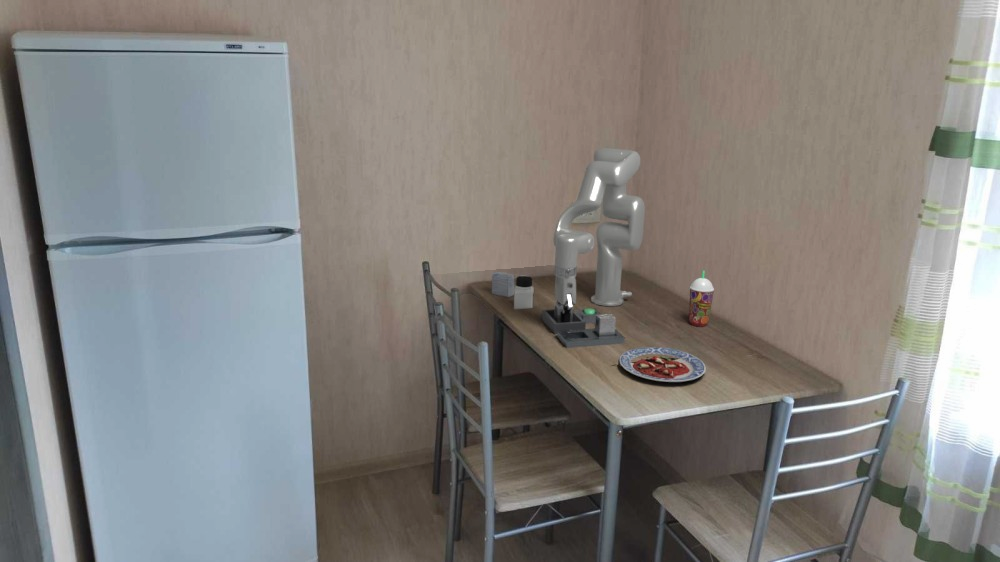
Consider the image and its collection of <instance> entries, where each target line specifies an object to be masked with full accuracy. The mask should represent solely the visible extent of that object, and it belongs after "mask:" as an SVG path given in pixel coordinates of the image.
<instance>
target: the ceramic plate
mask: <svg viewBox="0 0 1000 562" xmlns="http://www.w3.org/2000/svg"><path fill="white" fill-rule="evenodd" d="M644 355H664V356H661V357H658V356H647V357H645V358H641V359H638V360H636V361H633V359H635V358H637V357H640V356H644ZM665 355H666V356H665ZM667 356H670V357H667ZM673 357H675V358H673ZM662 358H663V359H662ZM619 364H620V365H621V367H622V368H623V369H624V370H625V371H626V372H629V373H630V374H632V375H635V376H637V377H640V378H642V379H646V380H651V381H656V382H664V383H665V382H666V383H667V382H668V383H682V382H688V381H693V380H696V379H698V378H700V377H702V376H703V375H704V374H705V373H706V371H707V370H706V369H707V368H706V365H705V363H704V362H703V360H701V359H700V358H698V357H697V356H696V355H695V356H694V355H693V354H690V353H687V352H685V351H683V350H678V349H672V348H667V347H657V346H648V347H638V348H633V349H629V350H627V351H625V352H623V353H622V354H621V355H620V357H619Z"/></svg>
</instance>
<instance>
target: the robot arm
mask: <svg viewBox="0 0 1000 562" xmlns="http://www.w3.org/2000/svg"><path fill="white" fill-rule="evenodd" d="M640 167H641V156H640V154H639V153H638V151H635V150H630V149H624V148H623V149H620V148H612V147H611V148H610V147H601V148H597V149H596V150H595V151H594V153H593V161H590V162H589V163H588V164H587V165H586V168H585V171H584V175H583V178H582V181H581V185H580V188H579V191H578V194H577V198H576V200H575V201H574V202H573V203H572V204H570V205H569V206H568V207H567V208H566V209H565V210H564V211H563V212H562V214H561V215H560V216H559V218H558V220H557V224H556V226H555V229H554V234H553V239H552V241H553V246H554V247H555V252H554V253H555V254H554V276H555V280H554V297H555V299H556V302H560V303H561V304H562V313H561V323H566V322H570V314H571V309H572V304H573V306H574V305H576V303H577V280H576V279H577V278H576V277H577V269H578V255H584V254H588V253H590V252H591V251H592V250H593V249H594V247H595V244H596V243H597V244H596V245H597V258H596V259H597V260H596V261H597V262H596V275H595V276H596V277H595V292H594V293H595V294H593V295H592V296H591V297H590V302H591V303H593V304H596V305H598V306H602V307H616V306H617V307H618V306H620V305H623V304H624V298H628V297H632V295H633V294H632V293H633V292H632V291H626V290H622V289H621V283H622V282H621V280H622V271H623V256H622V253H621V250H626V251H637V250H639V249H640V248H641V245H642V242H643V236H644V224H645V213H646V212H645V211H646V204H645V202H644V200H643V199H642V197H640V196H637V195H630V194H627V186H628V185H627V183H628V181H630V179H632V177H633V176H635V174H636V173H637V172H638V171H639V168H640ZM601 204H602V205H601ZM601 206H602V207H601ZM600 207H601V208H602V209H601V210H602V211H601V212H602V215H603V216H604V217H605V218H607V219H611V220H618V221H625V222H628V224H627V223H622V222H616V221H603V222H602V223H600V224H599V225H598V226H597V227H596V233H595V235H596V236H595V237H596V243H595V237H594V235H593V234H592V233H590V232H587V231H581V230H576V229H570V228H569V227H570V225H571V224H572V222H573V221H574V220H575V219H576V218H578V217H580V216H582V215H584V214H588V213H591V212H593V211H597V210H599V208H600ZM565 302H567V304H565ZM565 306H567V307H566V308H565Z"/></svg>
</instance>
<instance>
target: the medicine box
mask: <svg viewBox="0 0 1000 562" xmlns="http://www.w3.org/2000/svg"><path fill="white" fill-rule="evenodd" d="M491 275H492V276H491V277H492V278H491V294H492V295H496V296H499V297H505V298H511V297H512V296H514V288H515V274H514V273H508V272H503V271H496V272H494V273H492V274H491Z"/></svg>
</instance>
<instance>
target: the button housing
mask: <svg viewBox="0 0 1000 562" xmlns="http://www.w3.org/2000/svg"><path fill="white" fill-rule="evenodd" d="M590 308H591V307H590ZM585 309H586V308H579V309H576V313H577V314H578V315H579V316H580V317H581V318H582V319H583V320H584V321H585V322H586V325H587V324H588V325H589V324H590V325H591V324H595V321H596V315H601V314H602V313H601V312H600V311H599V310H598V309H597V308H595V307H594V308H591V309H594V310H595V312H594V314H585V313H584V310H585Z"/></svg>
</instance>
